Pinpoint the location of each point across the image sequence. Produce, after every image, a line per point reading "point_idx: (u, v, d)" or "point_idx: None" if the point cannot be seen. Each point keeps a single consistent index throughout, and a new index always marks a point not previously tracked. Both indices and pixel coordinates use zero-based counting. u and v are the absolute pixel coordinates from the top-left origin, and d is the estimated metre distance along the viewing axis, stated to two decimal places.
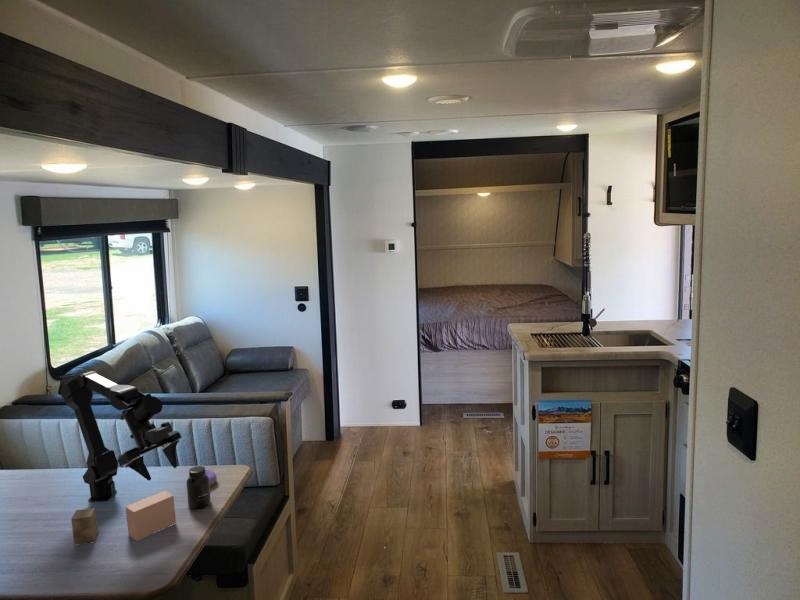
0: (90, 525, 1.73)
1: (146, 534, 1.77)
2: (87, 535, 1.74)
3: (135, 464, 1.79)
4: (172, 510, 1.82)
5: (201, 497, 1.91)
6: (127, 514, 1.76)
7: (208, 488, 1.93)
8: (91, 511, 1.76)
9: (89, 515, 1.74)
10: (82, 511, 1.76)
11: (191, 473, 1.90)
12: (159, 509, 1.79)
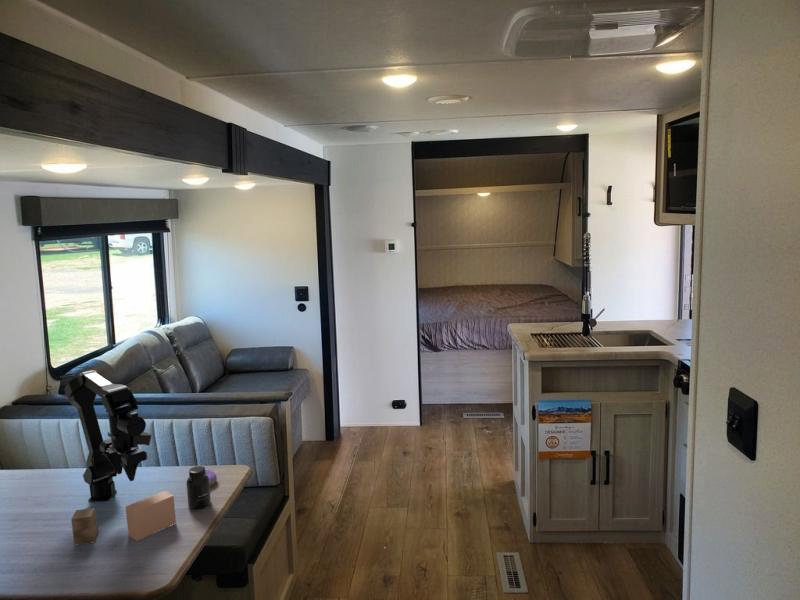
0: (90, 525, 1.73)
1: (146, 534, 1.77)
2: (87, 535, 1.74)
3: None
4: (172, 510, 1.82)
5: (201, 497, 1.91)
6: (127, 514, 1.76)
7: (208, 488, 1.93)
8: (91, 511, 1.76)
9: (89, 515, 1.74)
10: (82, 511, 1.76)
11: (191, 473, 1.90)
12: (159, 509, 1.79)
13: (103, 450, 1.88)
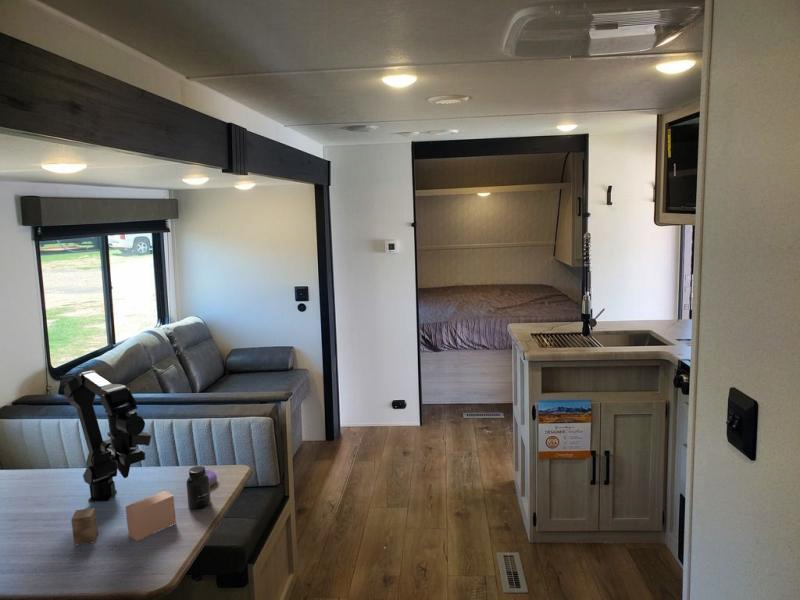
0: (90, 525, 1.73)
1: (146, 534, 1.77)
2: (87, 535, 1.74)
3: None
4: (172, 510, 1.82)
5: (201, 497, 1.91)
6: (127, 514, 1.76)
7: (208, 488, 1.93)
8: (91, 511, 1.76)
9: (89, 515, 1.74)
10: (82, 511, 1.76)
11: (191, 473, 1.90)
12: (159, 509, 1.79)
13: (104, 450, 1.89)
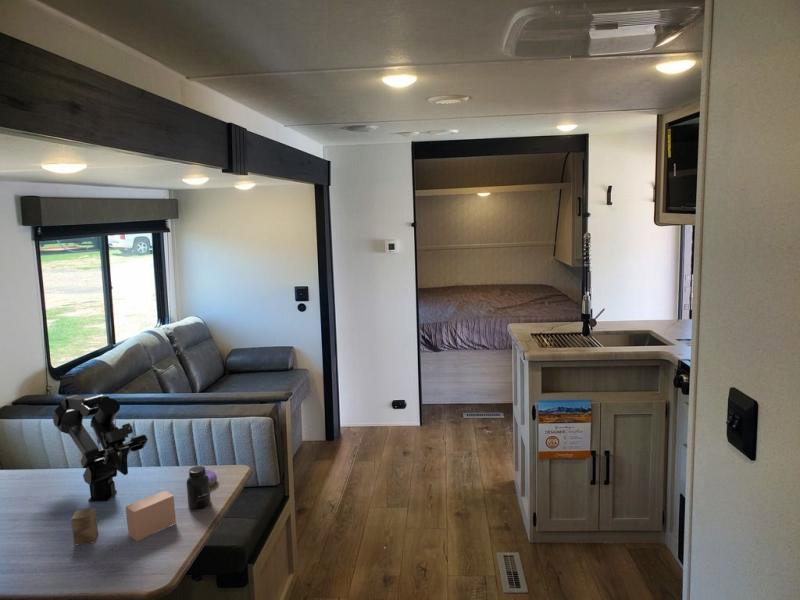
0: (90, 525, 1.73)
1: (146, 534, 1.77)
2: (87, 535, 1.74)
3: (112, 460, 1.88)
4: (172, 510, 1.82)
5: (201, 497, 1.91)
6: (127, 514, 1.76)
7: (208, 488, 1.93)
8: (91, 511, 1.76)
9: (89, 515, 1.74)
10: (82, 511, 1.76)
11: (191, 473, 1.90)
12: (159, 509, 1.79)
13: None
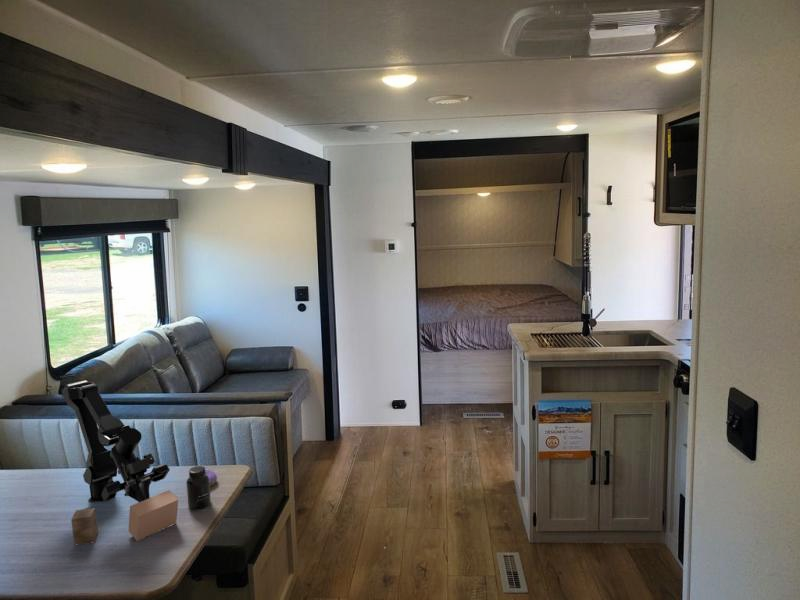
0: (90, 525, 1.73)
1: (146, 534, 1.76)
2: (87, 535, 1.74)
3: (133, 492, 1.81)
4: (174, 512, 1.81)
5: (201, 497, 1.91)
6: (130, 513, 1.75)
7: (208, 488, 1.93)
8: (91, 511, 1.76)
9: (89, 515, 1.74)
10: (82, 511, 1.76)
11: (191, 473, 1.90)
12: (163, 512, 1.78)
13: None
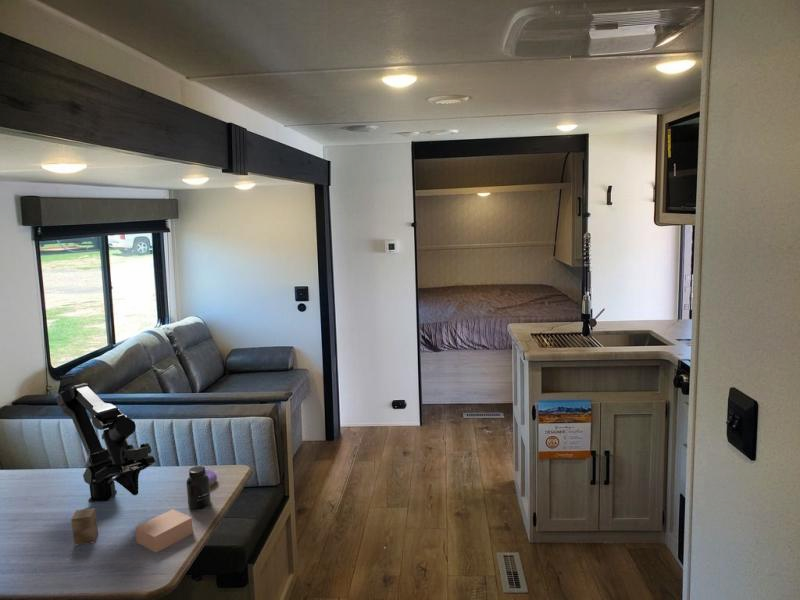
0: (90, 525, 1.73)
1: None
2: (87, 535, 1.74)
3: (122, 478, 1.84)
4: None
5: (201, 497, 1.91)
6: (149, 537, 1.69)
7: (208, 488, 1.93)
8: (91, 511, 1.76)
9: (89, 515, 1.74)
10: (82, 511, 1.76)
11: (191, 473, 1.90)
12: None
13: None
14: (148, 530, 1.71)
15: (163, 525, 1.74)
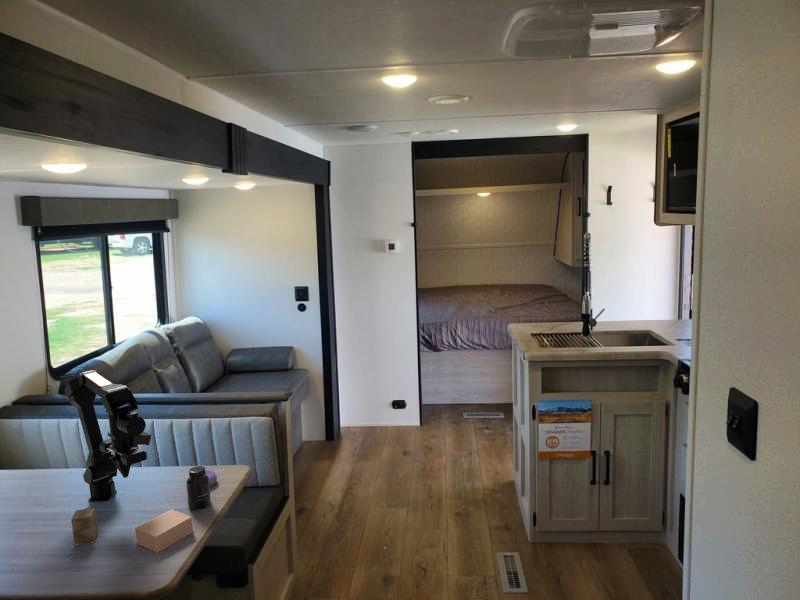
0: (90, 525, 1.73)
1: None
2: (87, 535, 1.74)
3: None
4: None
5: (201, 497, 1.91)
6: (150, 537, 1.69)
7: (208, 488, 1.93)
8: (91, 511, 1.76)
9: (89, 515, 1.74)
10: (82, 511, 1.76)
11: (191, 473, 1.90)
12: None
13: (103, 450, 1.88)
14: (148, 530, 1.71)
15: (163, 525, 1.74)
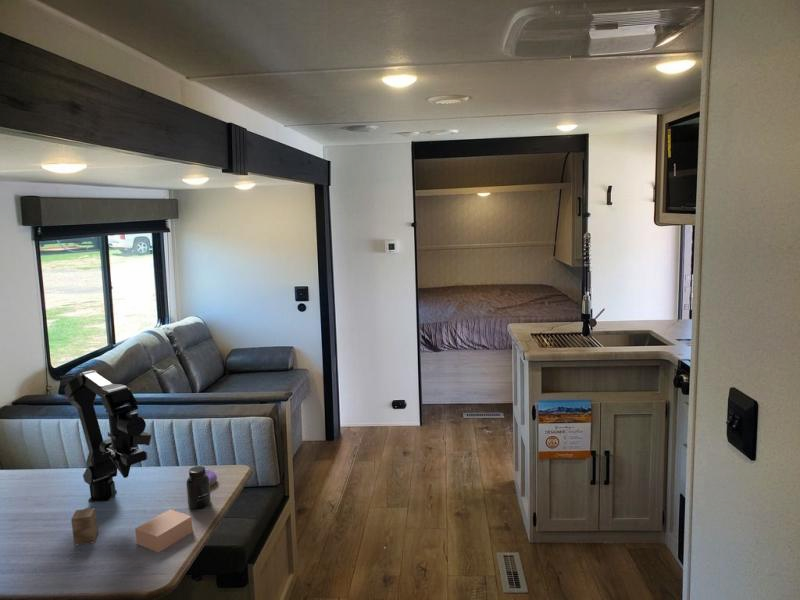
0: (90, 525, 1.73)
1: None
2: (87, 535, 1.74)
3: None
4: None
5: (201, 497, 1.91)
6: (151, 537, 1.69)
7: (208, 488, 1.93)
8: (91, 511, 1.76)
9: (89, 515, 1.74)
10: (82, 511, 1.76)
11: (191, 473, 1.90)
12: None
13: (103, 450, 1.88)
14: (149, 530, 1.71)
15: (164, 525, 1.74)
